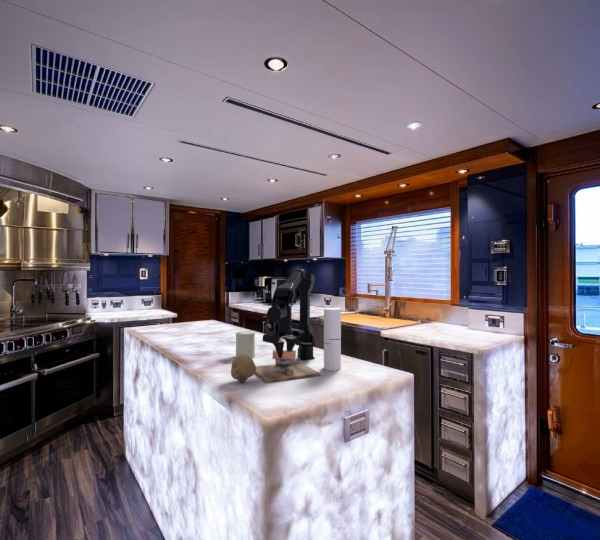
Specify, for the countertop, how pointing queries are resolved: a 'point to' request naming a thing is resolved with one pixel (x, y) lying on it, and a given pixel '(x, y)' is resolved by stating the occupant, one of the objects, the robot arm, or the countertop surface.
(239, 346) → the can
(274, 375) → the post board
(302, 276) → the robot arm
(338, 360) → the cylindrical container
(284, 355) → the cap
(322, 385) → the countertop surface
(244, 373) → the natural sponge
